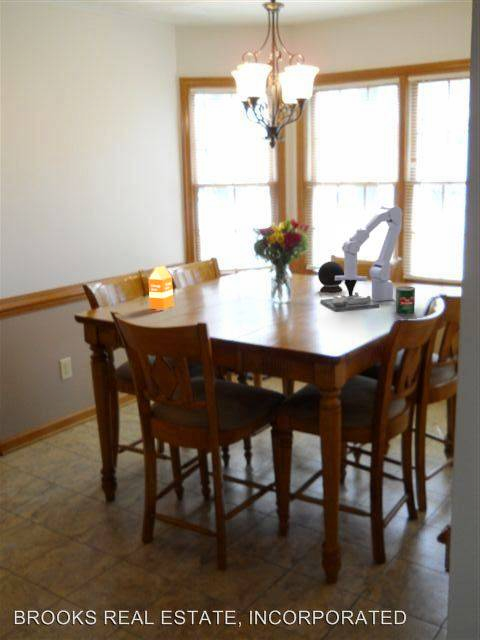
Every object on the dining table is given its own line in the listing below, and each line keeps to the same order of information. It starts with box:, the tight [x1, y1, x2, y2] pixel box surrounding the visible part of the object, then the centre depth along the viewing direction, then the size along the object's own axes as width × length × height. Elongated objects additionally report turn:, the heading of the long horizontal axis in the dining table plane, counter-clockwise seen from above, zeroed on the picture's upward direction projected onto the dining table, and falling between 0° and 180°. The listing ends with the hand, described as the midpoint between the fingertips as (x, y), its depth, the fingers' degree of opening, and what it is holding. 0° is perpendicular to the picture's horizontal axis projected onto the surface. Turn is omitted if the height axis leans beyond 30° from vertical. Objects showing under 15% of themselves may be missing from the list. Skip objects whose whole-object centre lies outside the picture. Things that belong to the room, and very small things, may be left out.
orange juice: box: [147, 264, 175, 309], centre depth 323 cm, size 8×9×20 cm
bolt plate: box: [319, 294, 380, 312], centre depth 316 cm, size 21×19×6 cm
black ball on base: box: [317, 261, 345, 294], centre depth 349 cm, size 13×13×15 cm
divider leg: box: [345, 291, 360, 303], centre depth 317 cm, size 11×2×3 cm, turn 139°
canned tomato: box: [395, 285, 416, 316], centre depth 296 cm, size 8×8×11 cm
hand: (350, 296), depth 320 cm, fingers closed
